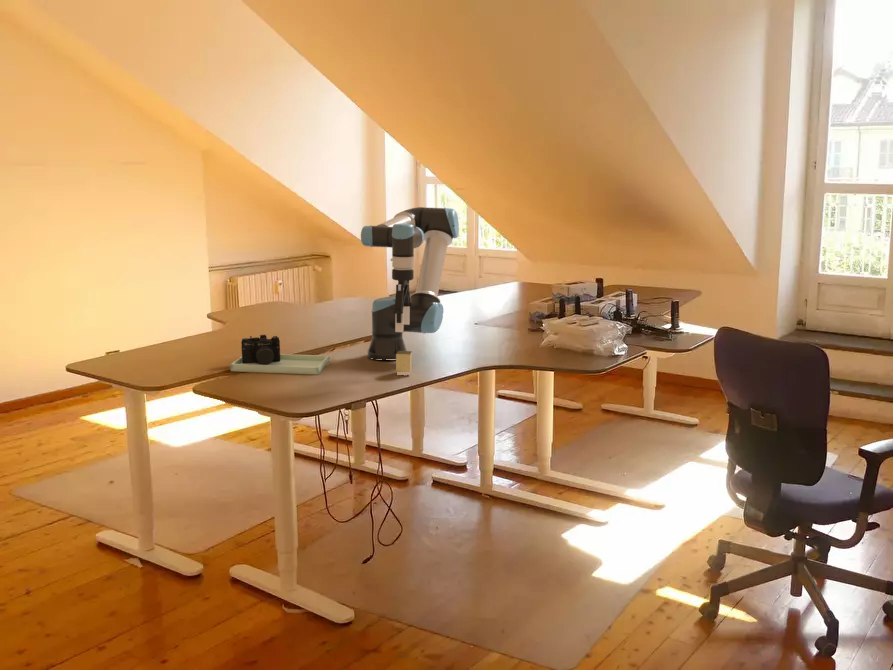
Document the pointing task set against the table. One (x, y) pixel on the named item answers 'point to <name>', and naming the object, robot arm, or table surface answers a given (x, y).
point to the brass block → (404, 361)
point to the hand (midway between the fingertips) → (402, 328)
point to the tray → (286, 365)
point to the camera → (261, 350)
